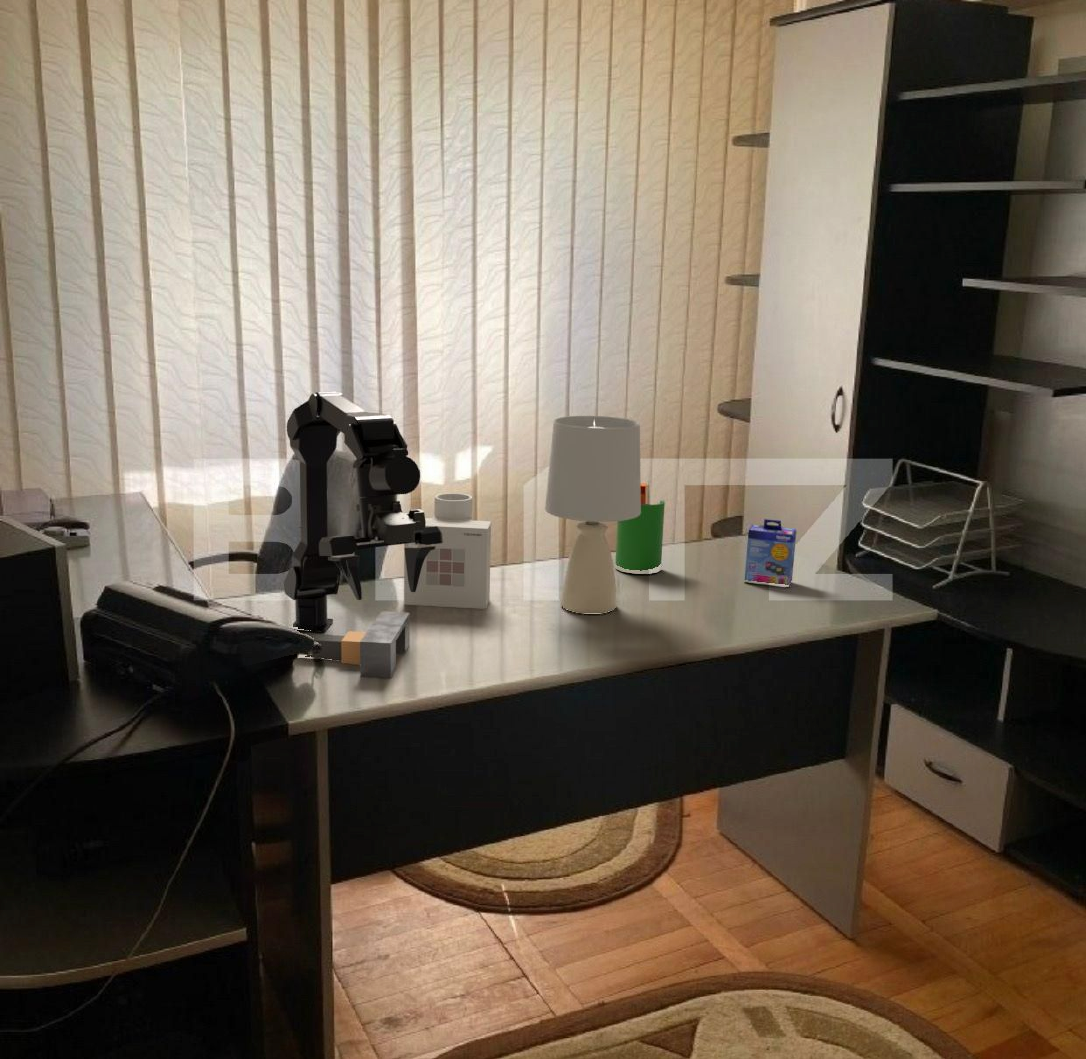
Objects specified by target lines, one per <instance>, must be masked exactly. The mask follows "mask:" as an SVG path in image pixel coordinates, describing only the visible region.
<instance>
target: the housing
mask: <svg viewBox="0 0 1086 1059" xmlns="http://www.w3.org/2000/svg"><path fill="white" fill-rule="evenodd" d="M410 614H411V612H403V611H402V612H398V611H386V610H385V611H384V610H383V611H380V613H379V614H378V616H377V617H376V619H375V620H374V622H372V624H371V626H370V627H369V629H367V630H366V632H367V633H366V634H365V635H364V637H363V638H362V640H361V641H360V664H359V668H360V670H359V672H360V673H359V675H360V676H359V677H363V678H379V679H392V677H393V675H394V673H395V671H396V668H397V667H396V666H397V664H396V661H397V657H396V656H397V655H396V653H399V654H405V653H406V652H407V650H409V648H410V638H411V636H410V635H411V634H410V632H411V631H410V630H411V628H410V627H411V626H410V625H411V623H410V621H411V620H410V619H411V617H410V616H411V615H410Z"/></svg>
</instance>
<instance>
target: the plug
mask: <svg viewBox="0 0 1086 1059" xmlns="http://www.w3.org/2000/svg"><path fill="white" fill-rule="evenodd" d="M303 633H304V634H307V635H309V636H311V637H312V638H314V641H316V642H318V643H319V644H321V647H322V650H321V652H320V653H317V654H313V655H307V656H305V657H310V656H311V657H319V658H324V659H332V660H339V661H338V662H341V663H342V662H343V663H342V664H344V663H349V665H360V641H361V640H362V638H363V637H364V635H365V634H366V633H367V631H351V630H348V632H347V633H346V634H345V635H337V634H320V633H318V634H317V633H306V632H303Z"/></svg>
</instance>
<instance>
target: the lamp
mask: <svg viewBox="0 0 1086 1059" xmlns="http://www.w3.org/2000/svg"><path fill="white" fill-rule="evenodd" d="M552 425H553V426H552V435H551V436H552V437H551V444H550V455H549V464H548V466H549V467H548V473H547V474H548V476H547V485H546V495H545V506H544V510H545V512H547V513H548V514H549V515H551V516H554V517H557V518H562V519H566V520H570V521H571V520H572V521H579V523H578V524H577V525H576V529H577V530H578V532H579V533H578V536H577V538H576V540H575V541H574V544H573V545H572V548H571V552H570V555H569V557H568V561H567V565H566V569H565V575H564V579H563V585H562V588H561V590H562V591H561V597H560V606H561V607H562V606H563V607H564V608H565V609H568V610H570V611H574V612H578V613H605V612H608V611H611V610H613V609H615V608H616V609H617V607H618V606H617V604H618V598H617V585H616V577H615V567H614V561H613V556H612V552H611V548H610V545H609V543H608V541H607V539H606V535H605V533H606V532H607V530H608V525H607V524H605V523H612V522H617V521H623V520H629V519H633V518H636V517H638V516H639V515H640V514H641V484H642V483H641V430H640V429H641V424H640V423H639V421H637V420H633V419H629V418H624V417H623V418H622V417H615V416H604V415H603V416H601V415H569V416H562V417H557V418H554V420H553V424H552ZM564 608H563V609H564ZM565 609H564V610H565ZM616 609H615V610H616Z"/></svg>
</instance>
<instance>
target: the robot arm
mask: <svg viewBox="0 0 1086 1059" xmlns="http://www.w3.org/2000/svg"><path fill="white" fill-rule="evenodd" d="M340 433H342V434H343V436H344V439H343V440H344V441H343V442H344V444H345V445H346V447H348V449H349V450H350V451H351V453H352V454H353V456H354V457H355V459H356V460H354V461H353V463H352V468H353V469H354V470H355V471H356V483H357V492H358V502H359V503H358V504H356V511H357V512H359V514H360V515H359V516H360V525H361V530H360V529H359V530H358V536H359V537H355V536H354V534H351V535H348V534H347V535H346V534H345V535H333V536H329V531H328V530H329V526H328V525H329V521H328V520H329V518H328V517H329V514H328V512H329V511H328V508H329V507H328V496H329V495H328V494H329V493H328V462H329V461H330V460H331V458H332V457H333V455H334V453H335V451H336V450H337V444H338V436H339V435H340ZM286 434H287V437H288V439H289V446H290V449H291V450H292V451H293V453H294V455H295V456H296V458H297V460H298V461H299V493H300V494H299V499H300V501H299V502H300V505H299V506H300V541H299V543H298V545H297V547H296V548H295V549H294V552H293V553H292V555H291V566H290V568H289V569H288V571H287V574H286V576H285V578H284V580H283V589H284V594H285V596H287V597H289V598H290V599H291V600H292V601H294V602H295V621H294V622H293V623H292V624H293V627H298V629H304V630H309V631H308V632H312V631H322V632H321V633H325V632H326V631H327V630H326V629H327V628H329V627H330V626H331V625H332V624H333V622H334V619H333V618H328V596H330V595H338V592H339V589H340V588H339V587H340V580H341V573H342V575H343V576H344V578H345V580H346V582H347V583H348V586H349V587H350V589H351V591H352V593H353V595H354V597H355V599H356V600H357V601H361V600H362V599H363V594H362V593H363V592H362V585H361V578H360V571H359V562H360V555H355V552H356V550H364V549H372V548H379V547H380V548H381V547H388V546H389V547H390V546H397V545H404V544H407V543H408V544H409V547H408V548H404V547H403V548H404V549H403V550H404V551H405V559H406V567H407V575H408V583H409V587H410V591H411V592H416V588H417V584H418V580H419V576H420V572H421V569H422V565H423V563H424V560H425V558H426V556H427V555H428V553H429V552H430V551H431V550H435V548H436V546H432V545H431V544H440V543H443V539H442V532H441V530H440V529H439V528H438V527H437V526H426V521H425V518H426V514H425V511H424V510H422V509H420V508H419V509H410V510H409V512H406V513H405V512H403V510H402V504H401V501H400V500H397V495H399V496H400V495H407V494H411V493H412V492H413V491H415V489H417V488H418V486H419V484H420V481H421V470H420V469H419V466H418V465H417V462H415V460H413V459H412V458H411V457H408V455H409V451H408V444H407V442H406V441H405V438H404V437H403V435H402V434H401V432H400V430H399V427H398V425H397V423H396V421H395V420H394V419H393V417H391V415H389V414H385V413H380V412H368V411H366V410H363V409H362V408H361V407H359V406H357V405H356V404H354V403H353V402H352V401H350V400H349V399H347V398H346V397H344V395H343V393H342V392H339V391H337V390H336V391H332V390H331V391H315V393H311V394H310V396H309V398H308V400H307V401H305V402H304V403H302V404H300V405H298V406H297V407H296V408H294V409H293V410H292V412H291V414H290V416H289V418H288V419H287V422H286ZM375 538H376V539H375ZM331 623H332V624H331ZM330 624H331V625H330ZM310 630H311V631H310ZM325 630H326V631H325ZM324 631H325V632H324Z"/></svg>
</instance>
